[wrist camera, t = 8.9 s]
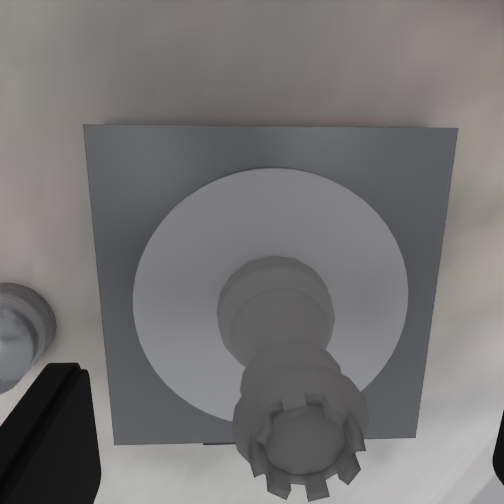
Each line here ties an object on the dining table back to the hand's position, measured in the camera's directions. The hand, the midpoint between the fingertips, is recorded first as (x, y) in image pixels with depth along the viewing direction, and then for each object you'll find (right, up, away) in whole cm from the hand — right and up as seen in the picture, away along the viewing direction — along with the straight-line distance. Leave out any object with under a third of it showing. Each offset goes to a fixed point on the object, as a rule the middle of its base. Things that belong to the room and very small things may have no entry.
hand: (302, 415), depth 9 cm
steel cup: (-12, 0, +11) cm, 16 cm away
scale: (0, +2, +11) cm, 11 cm away
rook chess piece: (0, +1, +8) cm, 8 cm away
